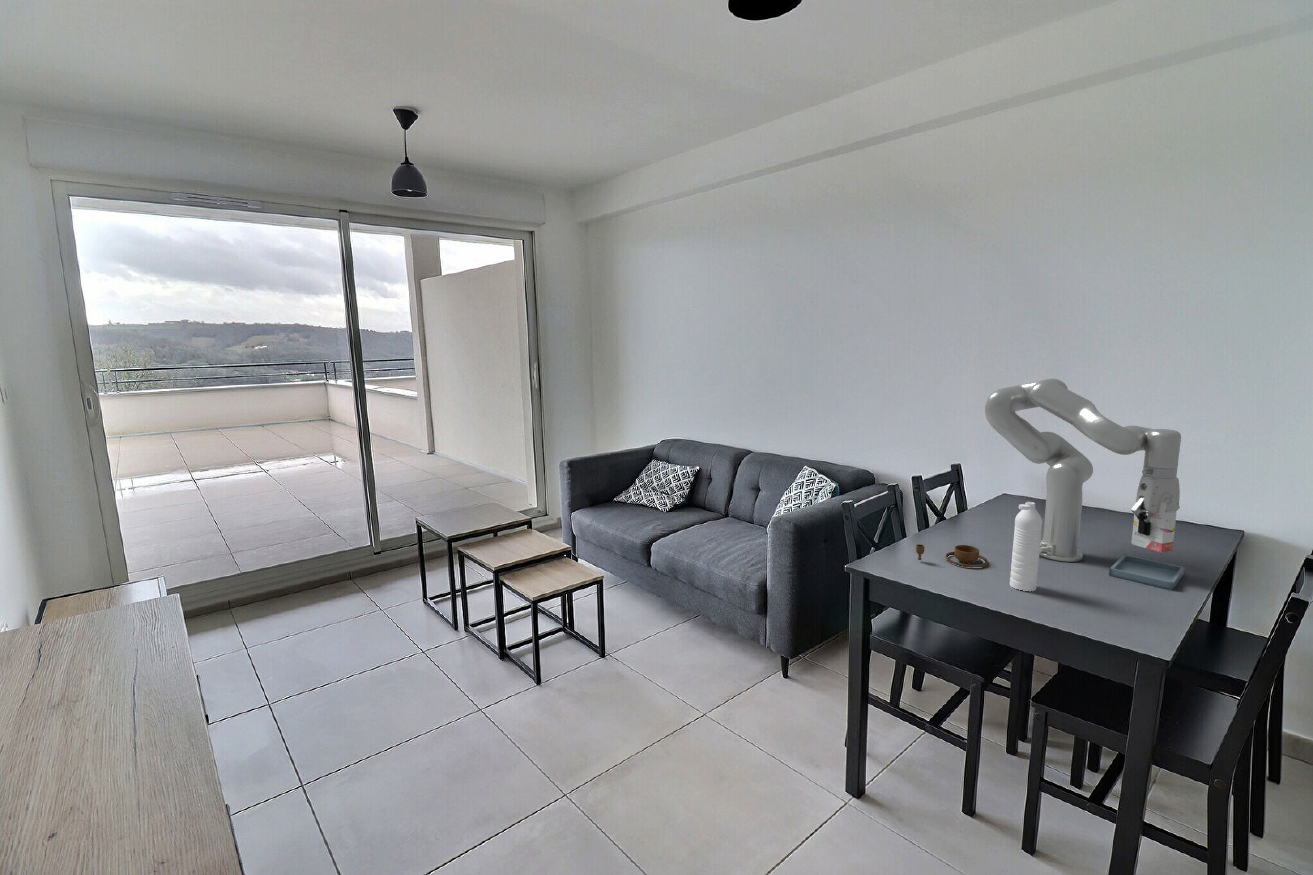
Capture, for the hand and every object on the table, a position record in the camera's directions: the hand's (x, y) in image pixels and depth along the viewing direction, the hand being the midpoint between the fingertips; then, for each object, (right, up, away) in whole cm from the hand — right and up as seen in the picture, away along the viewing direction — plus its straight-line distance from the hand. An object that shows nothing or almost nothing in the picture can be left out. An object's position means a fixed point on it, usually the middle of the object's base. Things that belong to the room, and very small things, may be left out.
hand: (1152, 532), depth 177 cm
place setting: (-50, -12, +17) cm, 54 cm away
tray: (0, -13, +2) cm, 13 cm away
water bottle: (-41, -15, -5) cm, 44 cm away
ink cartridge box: (0, -5, +1) cm, 5 cm away
